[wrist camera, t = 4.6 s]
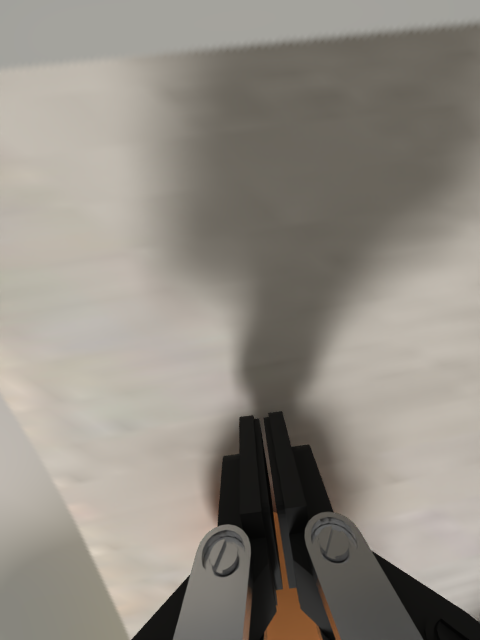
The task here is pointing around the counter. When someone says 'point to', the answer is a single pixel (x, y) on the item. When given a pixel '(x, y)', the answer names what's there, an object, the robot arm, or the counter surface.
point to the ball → (289, 607)
